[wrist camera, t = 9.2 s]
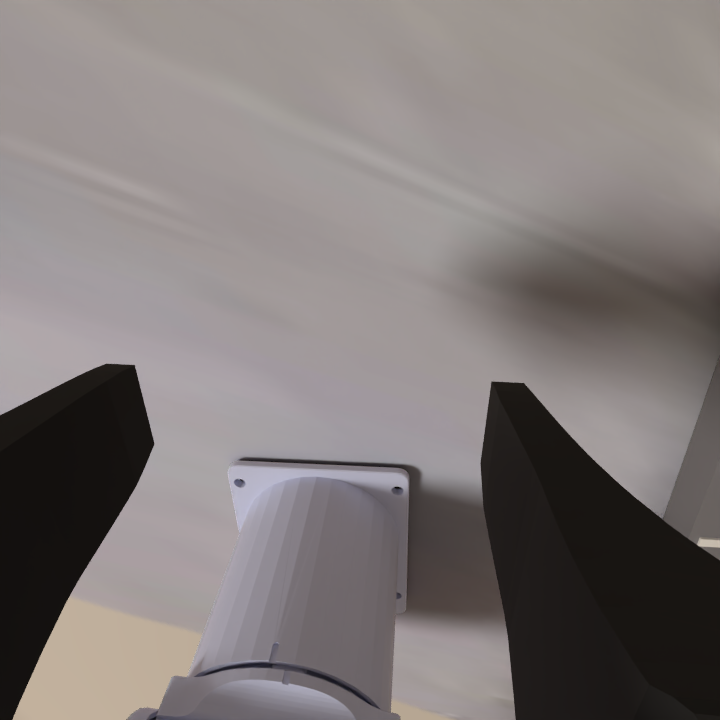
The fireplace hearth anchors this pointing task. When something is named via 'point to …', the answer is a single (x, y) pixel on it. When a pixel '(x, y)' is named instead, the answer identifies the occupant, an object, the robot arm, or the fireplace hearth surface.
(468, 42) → the fireplace hearth surface
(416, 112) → the fireplace hearth surface
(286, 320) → the fireplace hearth surface
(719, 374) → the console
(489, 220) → the fireplace hearth surface
